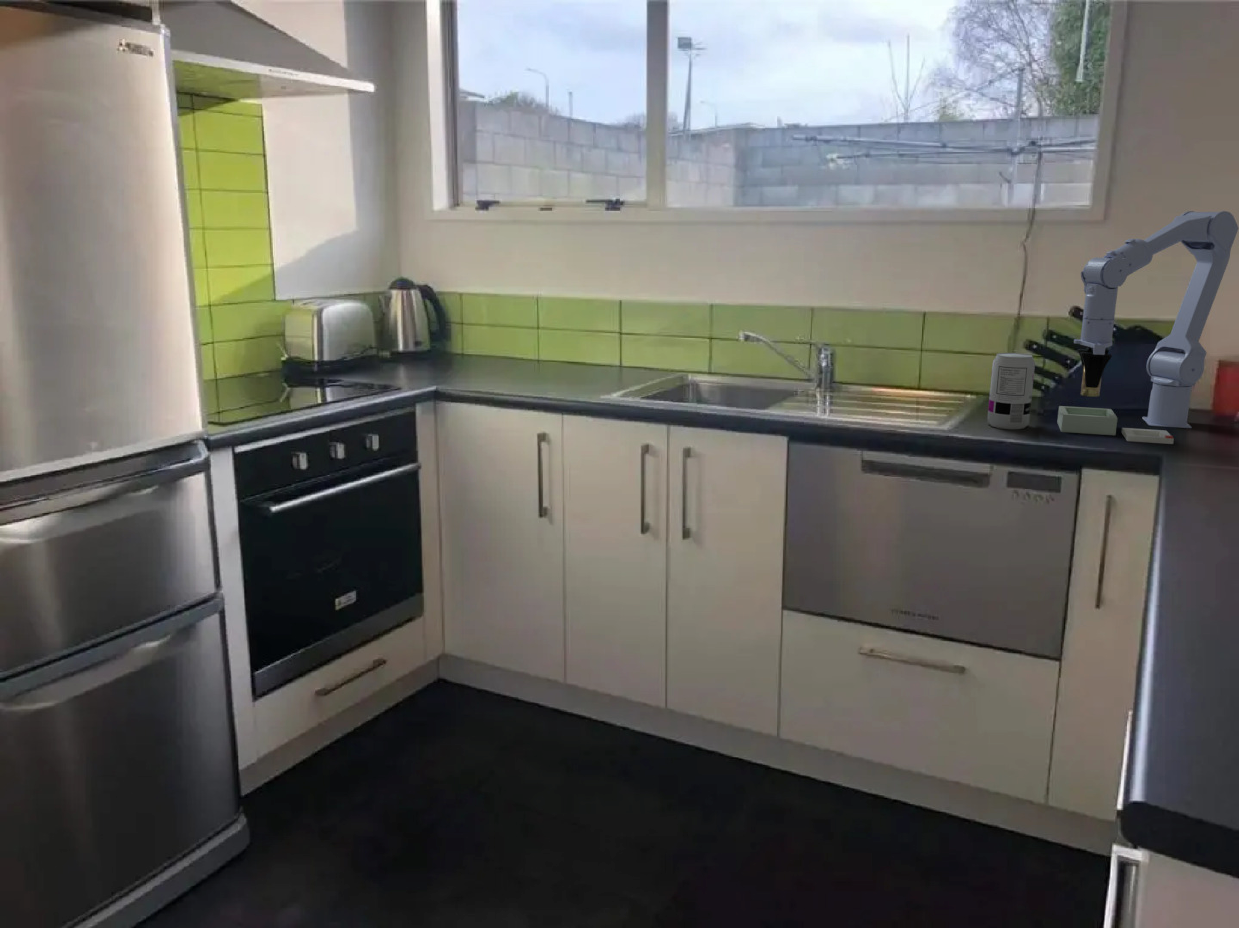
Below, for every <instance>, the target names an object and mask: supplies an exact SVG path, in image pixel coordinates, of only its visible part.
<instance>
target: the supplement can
mask: <svg viewBox="0 0 1239 928" xmlns="http://www.w3.org/2000/svg"><path fill="white" fill-rule="evenodd" d="M1035 369H1036V362H1035V360H1034V358H1033V355H1032V354H1029V353H1019V352H1000V353H998V352H997V353H996V356H995V357H994V359H993V361H992V366H991V374H990V375H991V376H990V377H991V379H990V387H989V395H988V396H989V397H988V398H989V399H988V407H987V408H988V409H987V419H986V421H987V423H989V425H990V426H991V427H993V428H998V429H1004V430H1022V429H1025V428H1026V427H1027V426H1029V424H1030V418H1031V406H1032V398H1033V387H1034V376H1035Z"/></svg>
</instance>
